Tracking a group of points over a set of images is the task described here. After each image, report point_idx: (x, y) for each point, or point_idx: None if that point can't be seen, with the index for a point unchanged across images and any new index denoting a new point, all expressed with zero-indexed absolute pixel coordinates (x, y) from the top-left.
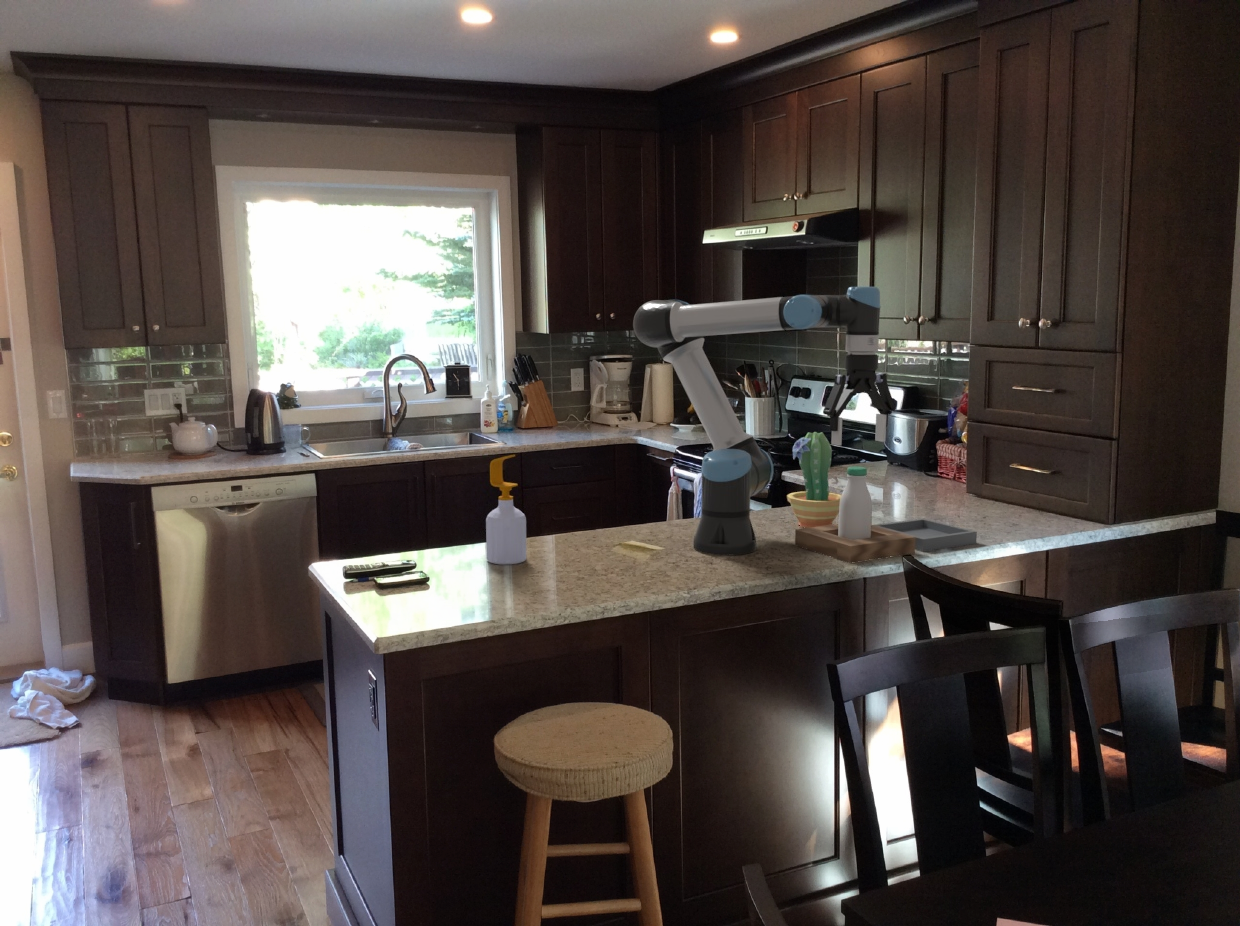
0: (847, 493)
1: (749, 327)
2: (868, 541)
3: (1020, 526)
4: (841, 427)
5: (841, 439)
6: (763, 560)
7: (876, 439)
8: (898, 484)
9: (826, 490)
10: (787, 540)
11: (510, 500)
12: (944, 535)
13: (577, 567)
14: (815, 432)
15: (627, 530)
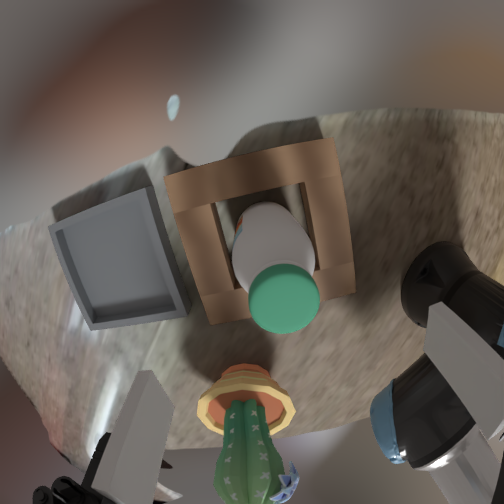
0: (311, 257)
1: None
2: (278, 161)
3: (4, 293)
4: (485, 359)
5: (446, 320)
6: (429, 204)
7: (170, 405)
8: (91, 457)
9: (235, 414)
10: (338, 312)
11: None
12: (97, 210)
13: None
14: None
15: None
